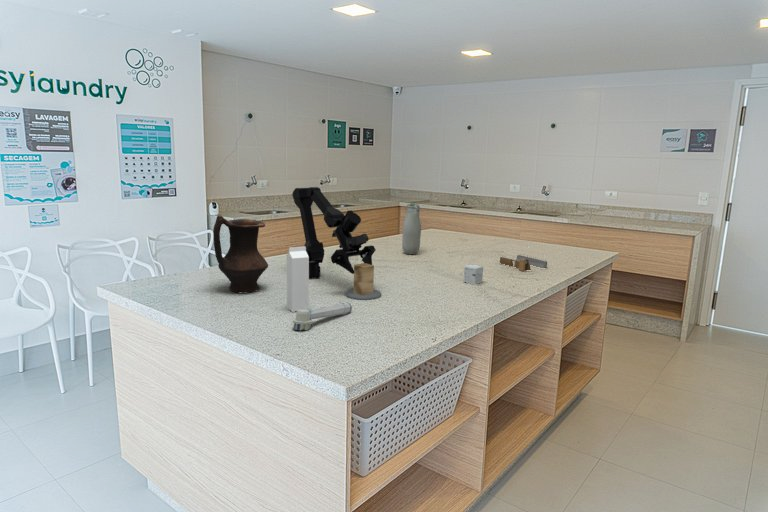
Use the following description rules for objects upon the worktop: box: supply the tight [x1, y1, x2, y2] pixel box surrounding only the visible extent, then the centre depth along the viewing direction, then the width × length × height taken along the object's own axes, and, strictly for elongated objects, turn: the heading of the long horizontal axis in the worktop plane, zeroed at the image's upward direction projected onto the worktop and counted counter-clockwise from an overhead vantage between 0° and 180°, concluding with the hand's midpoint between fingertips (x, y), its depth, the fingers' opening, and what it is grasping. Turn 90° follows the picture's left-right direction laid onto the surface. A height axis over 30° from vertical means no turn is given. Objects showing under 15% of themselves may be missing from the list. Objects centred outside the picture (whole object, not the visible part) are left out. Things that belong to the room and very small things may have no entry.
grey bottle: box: [401, 202, 422, 255], centre depth 280 cm, size 10×10×28 cm
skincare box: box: [463, 264, 484, 285], centre depth 222 cm, size 6×6×7 cm
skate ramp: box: [499, 253, 548, 272], centre depth 256 cm, size 29×35×8 cm
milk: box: [285, 245, 310, 313], centre depth 176 cm, size 6×6×22 cm
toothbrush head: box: [292, 301, 353, 331], centre depth 166 cm, size 5×7×25 cm
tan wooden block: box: [353, 262, 375, 296], centre depth 197 cm, size 5×5×11 cm
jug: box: [212, 214, 269, 293], centre depth 197 cm, size 21×18×30 cm
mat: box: [344, 288, 382, 301], centre depth 198 cm, size 14×14×1 cm
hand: (362, 271), depth 197 cm, fingers open, 9 cm apart
